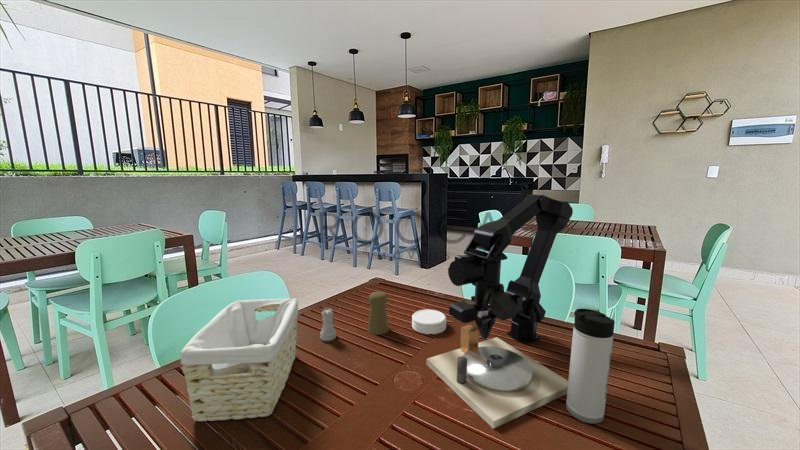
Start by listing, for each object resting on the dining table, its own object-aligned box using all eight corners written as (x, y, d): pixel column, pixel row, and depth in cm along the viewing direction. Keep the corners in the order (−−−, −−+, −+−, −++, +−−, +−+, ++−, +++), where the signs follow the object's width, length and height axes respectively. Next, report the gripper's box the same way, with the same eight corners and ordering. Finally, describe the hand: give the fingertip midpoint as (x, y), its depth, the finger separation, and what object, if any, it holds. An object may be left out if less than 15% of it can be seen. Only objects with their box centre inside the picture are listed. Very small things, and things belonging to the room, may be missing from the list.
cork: (385, 335, 91) (385, 298, 89) (365, 333, 92) (364, 296, 90) (390, 325, 96) (390, 290, 95) (371, 323, 98) (370, 288, 96)
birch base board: (496, 342, 87) (497, 319, 86) (573, 390, 68) (575, 362, 67) (426, 364, 77) (426, 338, 76) (493, 428, 58) (495, 395, 57)
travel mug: (557, 401, 65) (566, 305, 62) (589, 399, 65) (599, 304, 62) (577, 425, 59) (587, 320, 55) (611, 423, 59) (624, 319, 56)
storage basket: (236, 355, 81) (231, 298, 79) (303, 351, 83) (300, 295, 80) (183, 430, 58) (173, 352, 55) (278, 423, 59) (273, 347, 57)
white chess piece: (339, 335, 90) (339, 308, 89) (329, 343, 86) (329, 314, 85) (326, 332, 92) (325, 305, 91) (316, 339, 88) (315, 311, 87)
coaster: (451, 324, 98) (451, 313, 97) (436, 339, 89) (437, 327, 89) (422, 316, 103) (422, 306, 102) (405, 329, 95) (405, 318, 94)
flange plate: (547, 378, 69) (549, 353, 68) (494, 401, 62) (495, 373, 61) (488, 340, 85) (489, 319, 84) (440, 354, 78) (440, 332, 77)
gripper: (480, 296, 68) (477, 365, 71) (542, 282, 77) (537, 344, 79) (448, 280, 78) (446, 341, 80) (506, 270, 87) (502, 325, 89)
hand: (484, 338), depth 82 cm, fingers closed
